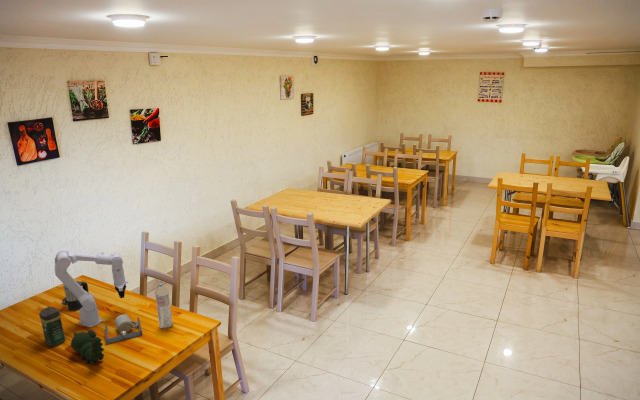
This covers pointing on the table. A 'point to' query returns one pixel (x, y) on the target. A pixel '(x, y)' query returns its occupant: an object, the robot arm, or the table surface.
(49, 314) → the coffee jar
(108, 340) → the coupler cradle
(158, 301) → the water bottle
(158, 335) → the table surface
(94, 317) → the robot arm
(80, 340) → the toy figurine
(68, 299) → the milk frother
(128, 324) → the ceramic mug
